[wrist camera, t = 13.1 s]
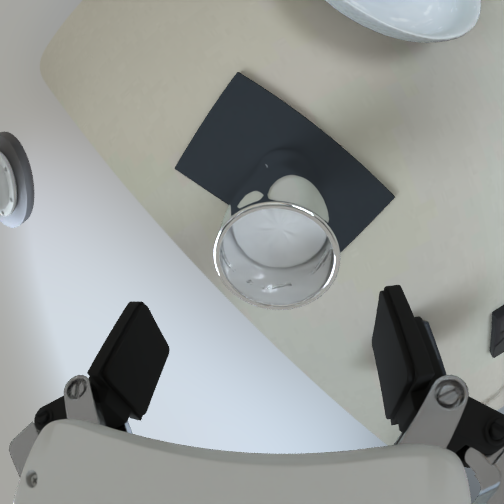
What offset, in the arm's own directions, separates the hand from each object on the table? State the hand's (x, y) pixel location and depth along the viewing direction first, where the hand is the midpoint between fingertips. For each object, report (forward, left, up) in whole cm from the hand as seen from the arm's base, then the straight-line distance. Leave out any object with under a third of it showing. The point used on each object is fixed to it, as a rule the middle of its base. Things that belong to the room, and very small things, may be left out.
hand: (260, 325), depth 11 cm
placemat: (0, 0, -20) cm, 20 cm away
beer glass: (0, 0, -20) cm, 20 cm away
